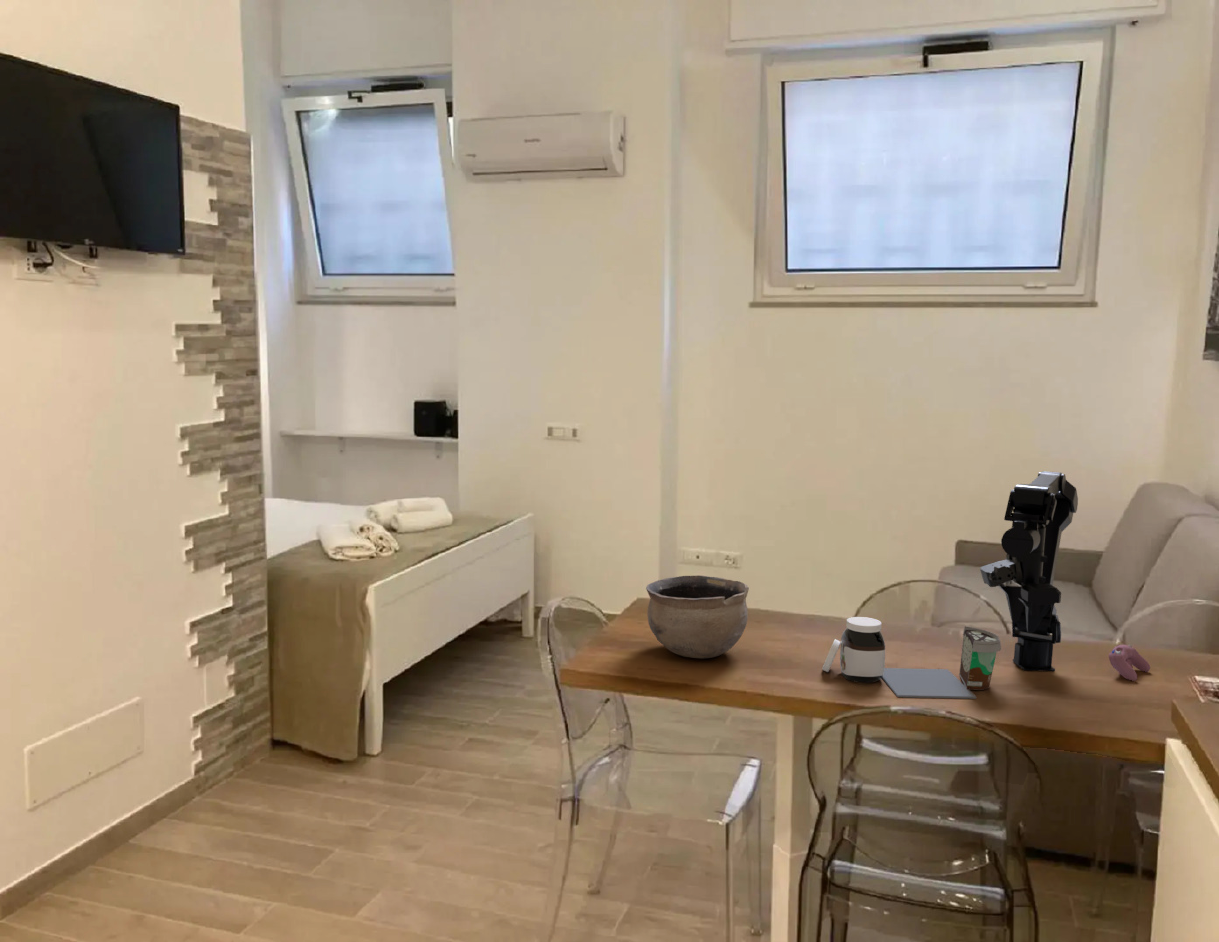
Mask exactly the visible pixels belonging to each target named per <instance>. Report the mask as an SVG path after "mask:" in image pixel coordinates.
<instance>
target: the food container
mask: <svg viewBox="0 0 1219 942" xmlns="http://www.w3.org/2000/svg"><path fill="white" fill-rule="evenodd" d="M962 637H963V638H962V647H961V653H960V654H961V655H960V665H959V674H958V675H959V677H960V679H961V682H962V683H963V684H964V685H965V687H966V689H969V690H970V691H971V690H972V691H981V690H988V689H989V688H990V684H991V679H992V676H993V671H994V665H995V661H996V657H997V653H998V652H1000V651H1002V645H1001V640H1000V637H999V636H998V635H997V634H995V633H993V632H991V631H987V630H986V629H981V628H977V627H973V626H967V625H965V626H964V629H963V633H962Z"/></svg>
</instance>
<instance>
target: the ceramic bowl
mask: <svg viewBox="0 0 1219 942" xmlns="http://www.w3.org/2000/svg"><path fill="white" fill-rule="evenodd" d="M749 588H750V587H749V586H748V584H746V583H743V582H741V581H738V580H733V579H726V578H723V577H717V576H716V577H714V576H708V575H681V576H671V577H667V578H663V579H658V580H656V581H654V582H650V583H649V584H648V583H647V585H646V588H645V590H646V592H647V594H648V596H649V598H650V599H649V601H648V604H647V605H648V606H647V622H648V626H649V628H650V630H651V632H652V633H653V635H654V636H655V638H656V639H657V641H658V642H660V644H662V646H663V647H665V648H666V649H667V650H668V651H670V652H672V653H673V654H676V655H678V656H681V657H685V658H691V659H711V658H716V657H719V656H721V655H723V654H725V653H726V652H728V651H730V650H731V649H732V648H733V647H734V646H735V645H736V644H737V642H738V641H739V640H740V638H741V637H742V635H743V634H744V632H745V629H746V627H747V624H748V623H747V622H748V615H749V614H748V606H747V601H746V600H747V597H748V592H749V590H750V589H749Z"/></svg>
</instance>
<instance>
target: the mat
mask: <svg viewBox="0 0 1219 942" xmlns="http://www.w3.org/2000/svg"><path fill="white" fill-rule="evenodd" d="M881 679H882V680H883V681H884V683H886V685H887V686H888V687H889V689H890V690H891V691H892V692H893V694H894V695H895V696H896V697H897V698H919V699H920V698H921V699H922V698H924V699H968V700H969V699H972V700H973V699H974V700H975V699H977V696H976V695H975V694H974V693H973V692H972V691H971V690H970V689H966V687H965V685H964V683H963V682H962V681H960V679H958V678H957V677H956V676H955V675H954V674H953V673H952V672H951V671H950V670H949V669H947V668H903V667H902V668H901V667H884V674H883V677H882V678H881Z"/></svg>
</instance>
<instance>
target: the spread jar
mask: <svg viewBox="0 0 1219 942" xmlns="http://www.w3.org/2000/svg"><path fill="white" fill-rule="evenodd" d="M882 624H883V623H882V621H880V620H878V619H876V618H872V617H866V616H852V617H848V618H847V619H846V628H845V629H844V630H843V632H842V634H841V639H840V640H838V639H836V638H835V639H834V640H833V643H832V644H831V646H830V649H829V651H828V653H827V656H826V657H825V661H824V663H823V666H822V667H821V670H822V671H824V672H826V673H829V672H830V669H831V667H832V665H833V662H834V659H836V656H837V653H838V650H839V649H840V651H839V655H840V656H839V664H840V665H839V666H840V671H841V674H842V676H843V678H845V679H846V680H847V681H848V680H849V681H851V682H853V683H861V684H870V683H871V684H872V683H876V682H878V681H880V680H881V679H882V677H883V674H884V668H885V667H886V666H885V664H886V663H885V662H886V642H885V640H884V636H883V634H882Z"/></svg>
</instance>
